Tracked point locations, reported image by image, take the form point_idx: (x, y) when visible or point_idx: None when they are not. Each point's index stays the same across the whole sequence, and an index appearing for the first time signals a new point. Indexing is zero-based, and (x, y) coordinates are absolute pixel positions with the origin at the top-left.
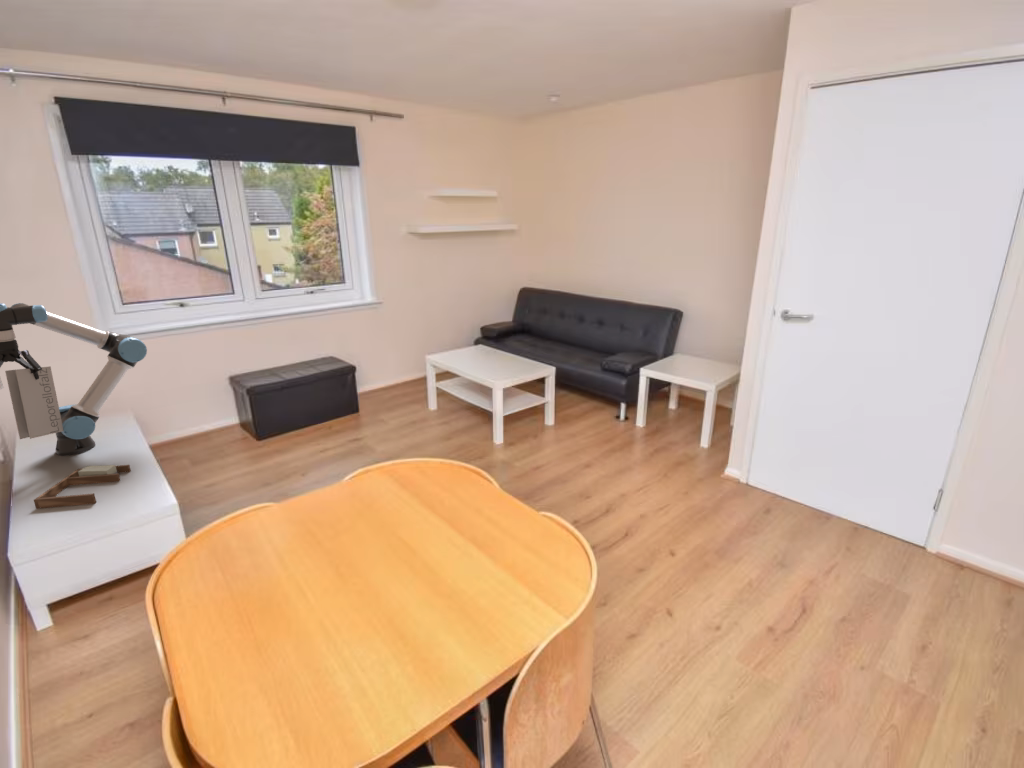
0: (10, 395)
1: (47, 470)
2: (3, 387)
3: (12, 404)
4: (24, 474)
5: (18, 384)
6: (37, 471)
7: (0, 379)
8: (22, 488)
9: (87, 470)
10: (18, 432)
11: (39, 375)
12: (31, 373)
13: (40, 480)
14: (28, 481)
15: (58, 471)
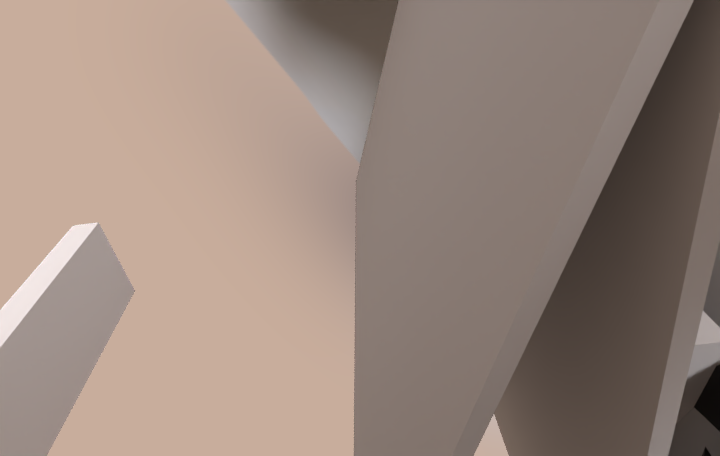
0: (355, 331)
1: (332, 4)
2: (97, 228)
3: (356, 281)
4: (265, 38)
5: (506, 444)
6: (295, 11)
7: (28, 332)
8: (357, 157)
9: None
10: (356, 194)
11: (717, 260)
12: (680, 422)
13: (373, 102)
14: (335, 106)
15: (387, 22)
